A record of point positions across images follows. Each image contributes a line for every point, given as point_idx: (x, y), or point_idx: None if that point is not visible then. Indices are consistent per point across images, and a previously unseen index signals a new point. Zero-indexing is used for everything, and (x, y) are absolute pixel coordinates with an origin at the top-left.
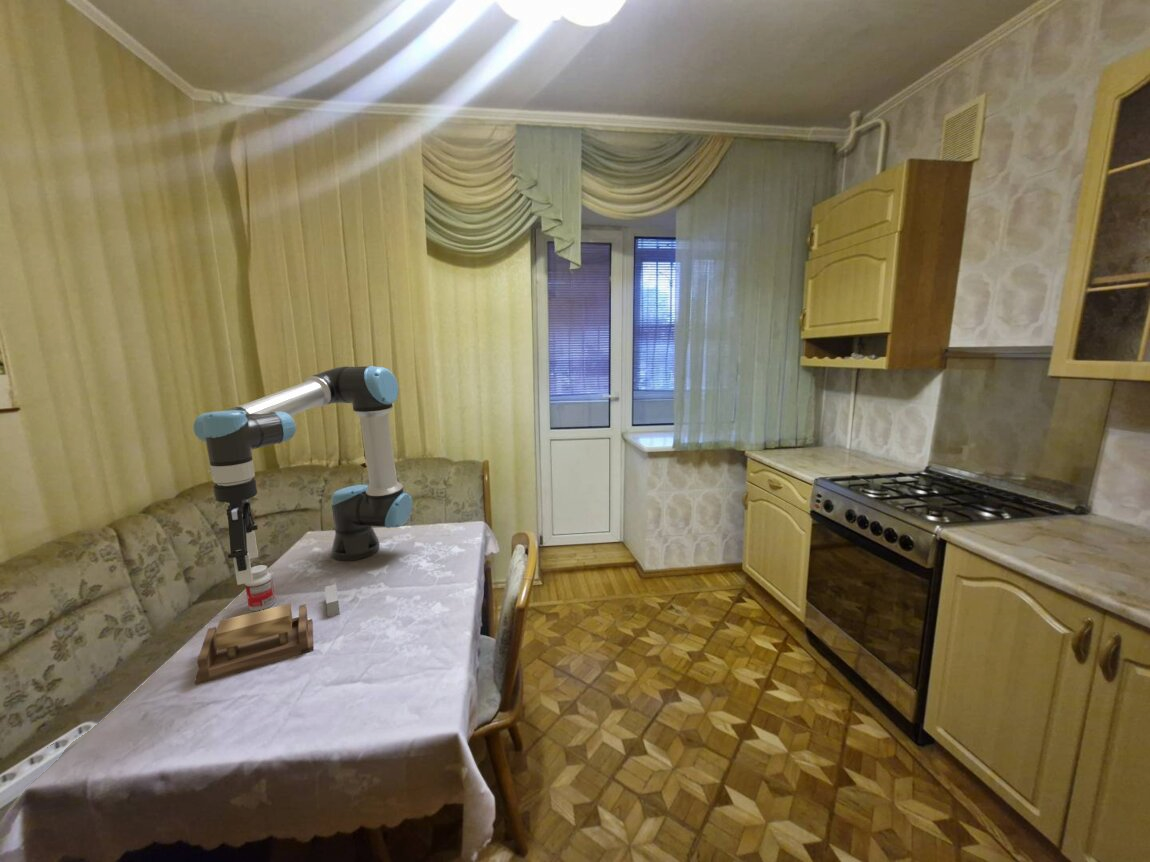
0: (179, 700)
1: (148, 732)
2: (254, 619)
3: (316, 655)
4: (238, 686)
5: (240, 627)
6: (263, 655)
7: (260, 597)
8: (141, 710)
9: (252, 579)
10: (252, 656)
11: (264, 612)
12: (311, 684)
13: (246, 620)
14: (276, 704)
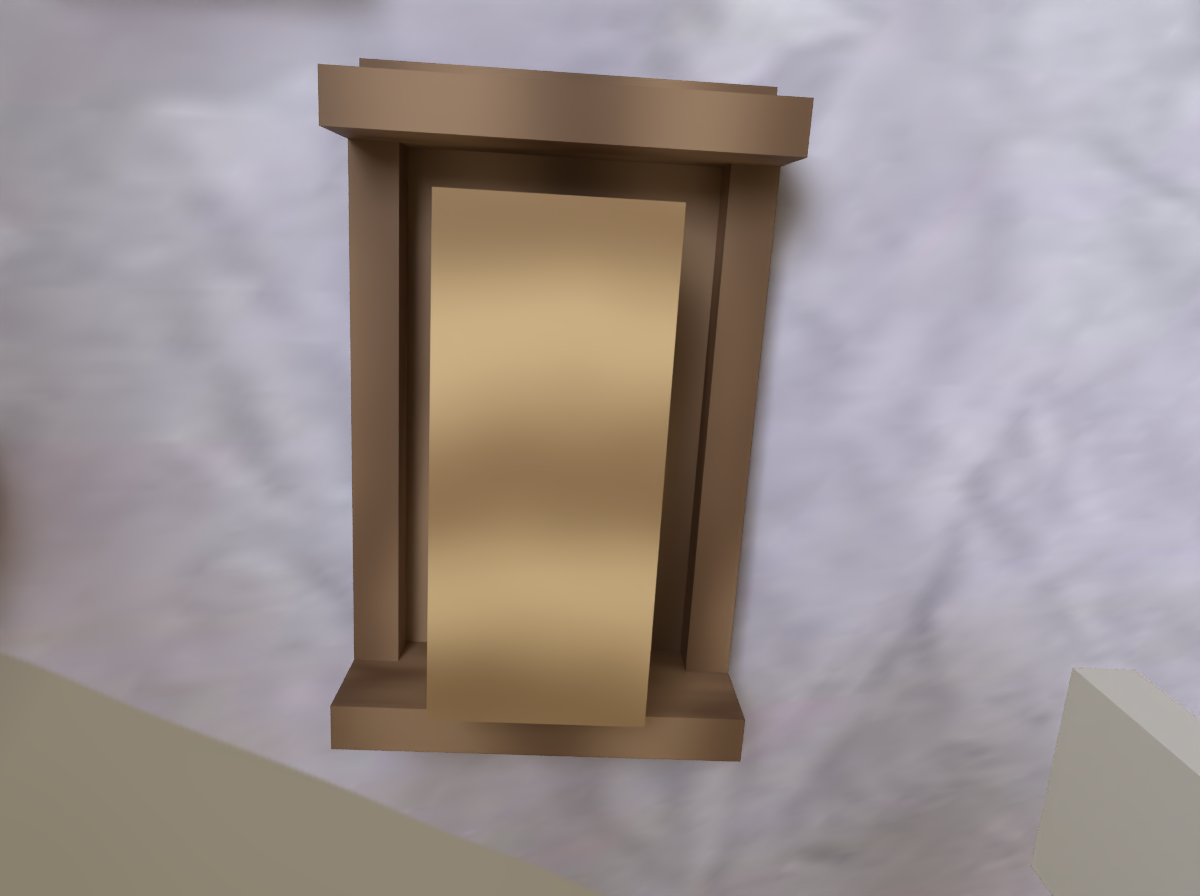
0: (799, 746)
1: (964, 821)
2: (572, 482)
3: (845, 78)
4: (868, 508)
5: (646, 575)
6: (755, 395)
7: None
8: (769, 874)
9: (1135, 686)
10: (734, 458)
11: (486, 408)
12: (1139, 135)
13: (551, 539)
14: (1177, 325)
